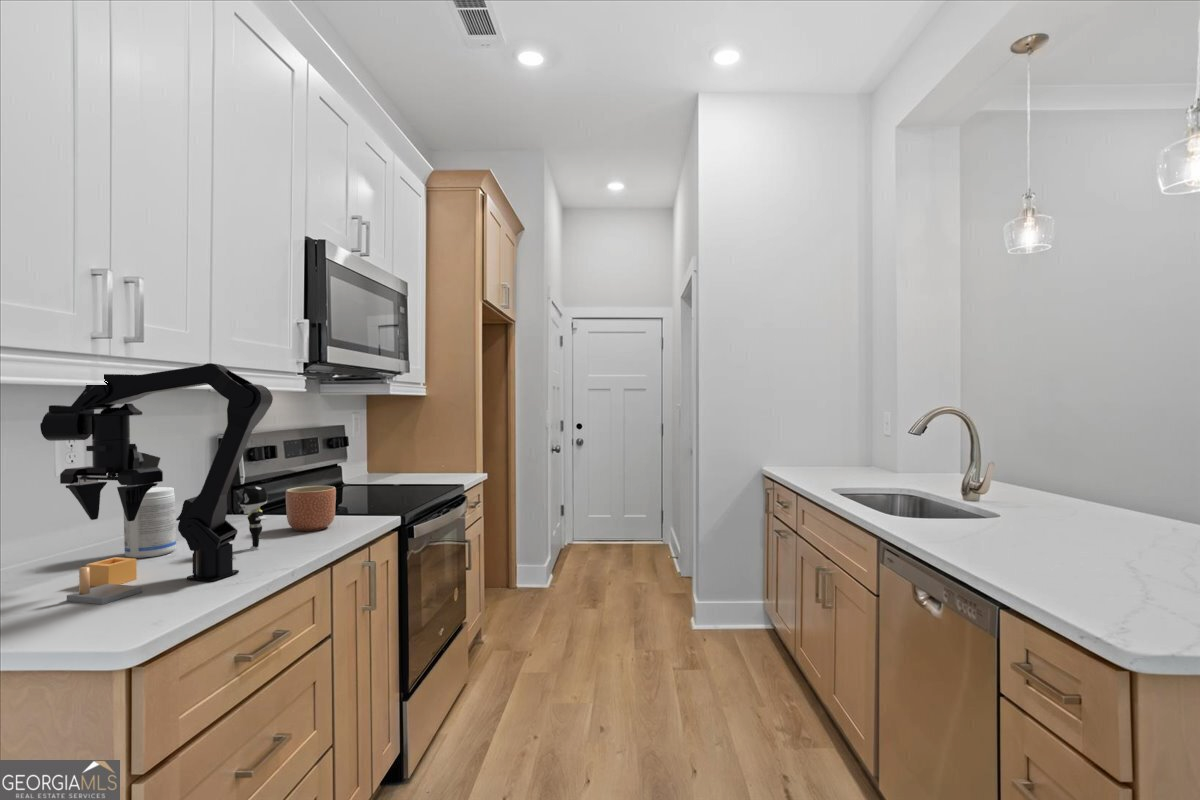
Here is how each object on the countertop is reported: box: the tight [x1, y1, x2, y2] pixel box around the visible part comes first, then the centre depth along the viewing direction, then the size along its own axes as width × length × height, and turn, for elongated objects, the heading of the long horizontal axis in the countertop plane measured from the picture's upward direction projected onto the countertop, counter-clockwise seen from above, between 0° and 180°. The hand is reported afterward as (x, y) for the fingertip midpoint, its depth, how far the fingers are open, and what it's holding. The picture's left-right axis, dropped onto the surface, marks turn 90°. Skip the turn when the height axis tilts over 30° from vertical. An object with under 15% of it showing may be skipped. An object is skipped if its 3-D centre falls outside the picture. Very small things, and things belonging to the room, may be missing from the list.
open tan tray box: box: [85, 556, 138, 587], centre depth 118 cm, size 5×5×4 cm
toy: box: [239, 484, 269, 551], centre depth 144 cm, size 13×6×15 cm, turn 42°
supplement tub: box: [123, 486, 177, 559], centre depth 140 cm, size 10×10×15 cm
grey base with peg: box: [66, 566, 143, 605], centre depth 109 cm, size 8×7×6 cm
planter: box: [285, 485, 337, 532], centre depth 167 cm, size 12×12×11 cm
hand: (112, 520), depth 118 cm, fingers open, 9 cm apart
